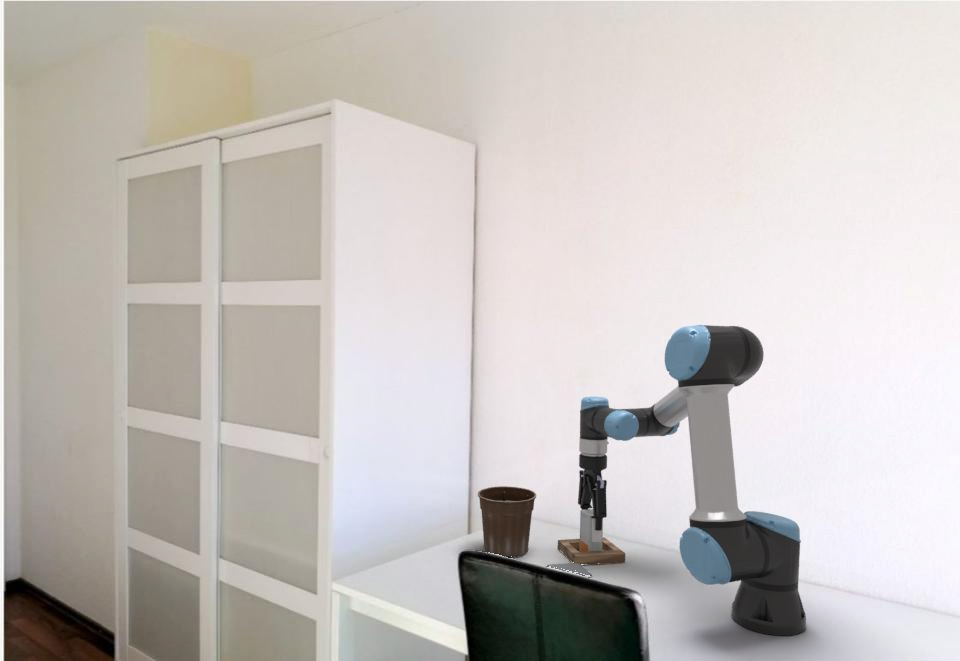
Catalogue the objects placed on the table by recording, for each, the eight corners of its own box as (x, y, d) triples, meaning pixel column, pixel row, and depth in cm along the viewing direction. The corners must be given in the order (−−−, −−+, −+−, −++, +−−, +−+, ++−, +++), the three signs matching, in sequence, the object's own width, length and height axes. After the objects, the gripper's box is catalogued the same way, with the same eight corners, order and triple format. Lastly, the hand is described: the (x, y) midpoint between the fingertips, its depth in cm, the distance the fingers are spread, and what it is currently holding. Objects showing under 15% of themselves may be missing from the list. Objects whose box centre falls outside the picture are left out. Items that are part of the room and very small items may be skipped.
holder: (625, 562, 197) (625, 553, 197) (575, 565, 194) (576, 556, 194) (604, 546, 211) (604, 537, 211) (557, 548, 207) (557, 539, 207)
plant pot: (518, 565, 193) (519, 504, 193) (465, 554, 201) (466, 495, 201) (544, 548, 207) (546, 491, 207) (494, 538, 215) (495, 483, 215)
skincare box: (578, 552, 204) (579, 509, 204) (592, 551, 206) (593, 508, 205) (588, 559, 199) (589, 515, 198) (602, 558, 200) (603, 514, 200)
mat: (591, 577, 186) (591, 574, 186) (557, 579, 184) (557, 576, 184) (578, 564, 194) (578, 562, 194) (546, 567, 192) (546, 564, 192)
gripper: (621, 460, 193) (619, 548, 193) (592, 446, 212) (589, 525, 213) (594, 461, 191) (592, 549, 191) (567, 447, 210) (565, 527, 211)
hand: (591, 537), depth 202 cm, fingers open, 7 cm apart
